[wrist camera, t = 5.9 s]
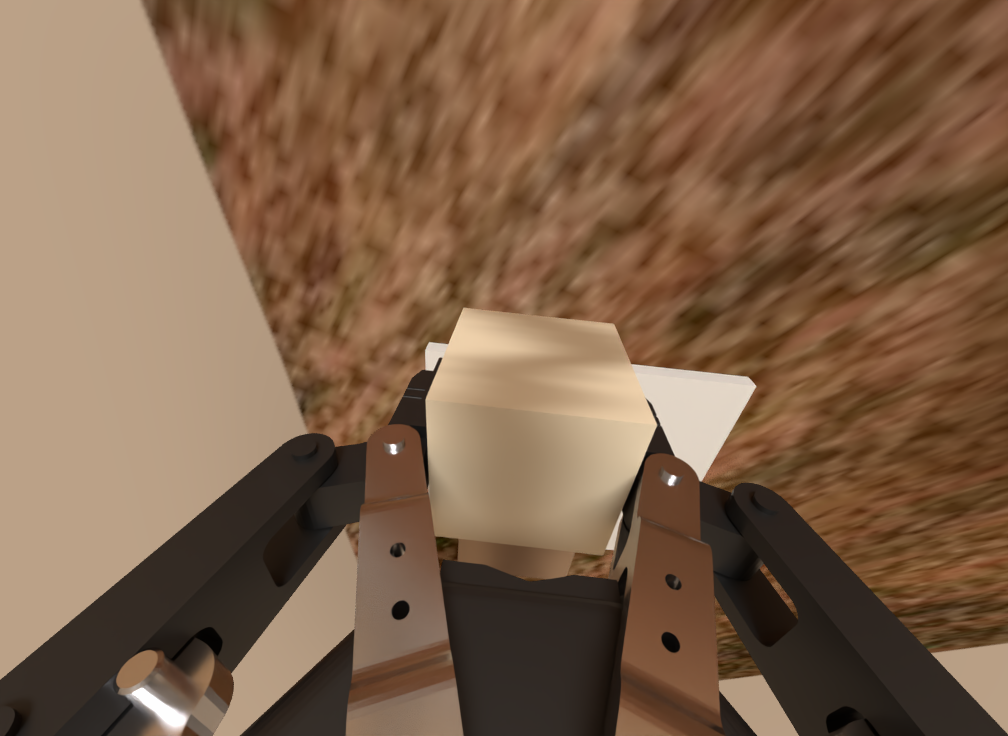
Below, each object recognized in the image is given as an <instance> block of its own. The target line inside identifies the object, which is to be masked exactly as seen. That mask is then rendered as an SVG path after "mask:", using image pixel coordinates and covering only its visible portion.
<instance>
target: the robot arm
mask: <svg viewBox="0 0 1008 736" xmlns="http://www.w3.org/2000/svg"><path fill="white" fill-rule="evenodd" d="M442 359H443V358H441V357H440V358H439V359H438V361H437V363H436V366H435V368H434V370H433V371H430V370H422V371H420V372H419V373H418V374H416V375H415V376H414V377H412V379H411V381H410V383H409V385H408V388H407V389H406V391H405V393H404V395H403V397H402V399H401V401H400V403H399V405H398V407H397V409H396V411H395V413H394V415H393V417H392V419H391V421H390V423H389V424H388V426H384V427H382V428H380V429H378V430H376V431H375V432H374V433H373V434H372V435H371V436H370V437H369V439H368V441H367V442H364V443H361V444H355V445H347V446H339V447H335V445H334V442H333V440H332V439H331V438H330V437H328V436H326V435H323V434H317V433H312V434H305V435H301V436H298V437H295V438H293V439H291V440H289V441H287V442H286V443H284V444H283V445H282V446H281V447H279V448H278V449H277V450H276V451H275V452H274V453H272V454H271V455H270V456H269V457H267V458H266V459H265V460H264V461H263V462H261V463H260V464H259V465H258V466H257V467H255V468H254V469H253V470H252V471H251V472H249V473H248V474H247V475H246V476H245V477H243V478H242V479H241V480H240V481H239V482H237V483H236V484H235V485H234V486H233V487H231V488H230V489H229V490H228V491H227V492H225V494H223V495H222V496H221V497H219V498H218V499H217V500H216V501H215V502H213V503H212V504H211V505H210V506H209V507H207V508H206V509H205V510H204V511H203V512H201V513H200V514H199V515H198V516H197V517H195V518H194V519H193V520H192V521H191V522H190V523H188V524H187V525H186V526H185V527H183V528H182V529H181V530H180V531H179V532H177V533H176V534H175V535H174V536H173V537H171V538H170V539H169V540H168V541H166V542H165V543H164V544H163V545H162V546H161V547H159V548H158V549H157V550H156V551H154V552H153V553H152V554H151V555H150V556H148V557H147V558H146V559H145V560H144V561H142V562H141V563H140V564H139V565H138V566H136V567H135V568H134V569H133V570H132V571H131V572H129V573H128V574H127V575H126V576H124V578H122V579H121V580H120V581H119V582H117V583H116V584H115V585H114V586H112V587H111V588H110V589H109V590H108V591H106V592H105V593H104V594H103V595H102V596H100V597H99V598H98V599H97V600H96V601H94V602H93V603H92V604H91V605H90V606H88V607H87V608H86V609H85V610H84V611H82V612H81V613H80V614H79V615H78V616H76V617H75V618H74V619H73V620H72V621H70V622H69V623H68V624H67V625H66V626H64V627H63V628H62V629H61V630H60V631H58V632H57V633H56V634H55V635H54V636H53V637H51V638H50V639H49V640H48V641H46V642H45V643H44V644H43V645H42V646H40V647H39V648H38V649H37V650H36V651H34V652H33V653H32V654H31V655H30V656H28V657H27V658H26V659H25V660H24V661H23V662H21V663H20V664H19V665H18V666H16V667H15V668H14V669H13V670H12V671H11V672H9V673H8V674H7V675H6V676H4V677H3V678H2V679H1V680H0V736H213V734H214V732H215V731H216V729H217V727H218V726H219V724H220V722H221V721H222V719H223V717H224V716H225V714H226V712H227V710H228V708H229V705H230V702H231V699H232V695H233V689H234V682H233V677H232V674H231V673H232V672H233V670H234V669H235V668H236V667H237V665H238V664H239V663H240V661H241V660H242V659H243V658H244V656H245V655H246V654H247V652H248V651H249V650H250V649H251V647H252V646H253V645H254V643H255V642H256V641H257V639H258V638H259V637H260V636H261V634H262V633H263V632H264V631H265V629H266V628H267V627H268V625H269V624H270V623H271V621H272V620H273V619H274V617H275V616H276V615H277V614H278V613H279V611H280V610H281V609H282V607H283V606H284V605H285V603H286V602H287V601H288V600H289V598H290V597H291V596H292V594H293V593H294V592H295V591H296V589H297V588H298V587H299V585H300V584H301V583H302V582H303V580H304V579H305V578H306V576H307V575H308V574H309V572H310V571H311V570H312V569H313V567H314V566H315V565H316V563H317V562H318V561H319V560H320V558H321V557H322V556H323V554H324V553H325V552H326V551H327V549H328V548H329V547H330V545H331V544H332V543H333V542H334V540H335V539H336V538H337V536H338V535H339V534H340V532H341V531H342V530H343V529H344V527H345V526H346V525H347V524H350V523H355V522H360V524H359V545H358V566H357V589H356V609H355V610H356V611H355V629H354V630H353V631H352V632H351V633H349V635H347V636H346V637H345V638H344V639H343V640H342V641H341V642H340V643H339V644H338V645H337V646H336V647H334V648H333V649H332V650H331V651H330V652H329V653H328V654H327V655H326V656H325V657H324V658H323V659H322V660H321V661H319V662H318V663H317V664H316V665H315V666H314V667H313V668H312V669H311V670H310V671H309V672H308V673H307V674H306V675H304V676H303V677H302V678H301V679H300V680H299V681H298V682H297V683H296V684H295V685H294V686H293V687H292V688H291V689H289V690H288V691H287V692H286V693H285V694H284V695H283V696H282V697H281V698H280V699H279V700H278V701H277V702H275V704H274V705H272V706H271V707H270V708H269V709H268V710H267V711H266V712H265V713H264V714H263V715H262V716H261V717H259V718H258V719H257V720H256V721H255V722H254V723H253V724H252V725H251V726H250V727H249V728H248V729H247V730H246V731H244V732H243V733H242V734H241V735H240V736H757V735H756V734H755V733H754V732H753V730H752V729H751V728H750V727H749V726H748V724H747V723H746V722H745V721H744V720H743V719H742V717H741V716H740V715H739V714H738V713H737V711H736V710H735V709H734V708H733V707H732V705H731V704H730V703H729V702H728V701H727V700H726V698H725V697H724V696H723V695H722V694H721V692H720V691H719V684H718V683H719V682H718V661H717V641H716V621H715V601H714V596H715V597H716V599H717V601H718V602H719V604H720V606H721V607H722V609H723V611H724V612H725V614H726V616H727V617H728V619H729V621H730V622H731V624H732V626H733V627H734V629H735V631H736V632H737V634H738V635H739V637H740V639H741V640H742V642H743V644H744V645H745V647H746V649H747V650H748V652H749V654H750V655H751V657H752V659H753V660H754V662H755V664H756V665H757V667H758V669H759V670H760V672H761V673H762V675H763V677H764V678H765V680H766V682H767V683H768V685H769V687H770V688H771V690H772V692H773V693H774V695H775V697H776V698H777V700H778V701H779V703H780V705H781V707H782V708H783V710H784V711H785V713H786V715H787V716H788V718H789V720H790V721H791V723H792V725H793V726H794V728H795V730H796V731H797V733H798V735H799V736H1008V734H1007V733H1006V732H1005V731H1004V730H1003V729H1002V728H1001V727H1000V726H999V725H998V724H997V722H995V720H994V719H993V718H992V717H991V716H990V715H989V714H988V713H987V712H986V711H985V710H984V709H983V708H982V707H981V706H980V705H979V704H978V702H977V701H976V700H974V698H973V697H972V696H971V695H970V694H969V693H968V692H967V691H966V690H965V689H964V688H963V687H962V686H961V685H960V684H959V682H957V680H956V679H955V678H954V677H953V676H952V675H951V674H950V673H949V672H948V671H947V670H946V669H945V668H944V667H943V666H942V665H941V664H940V663H939V661H938V660H937V659H936V658H935V657H934V656H933V655H932V654H931V653H930V652H929V651H928V650H927V649H926V648H925V647H924V646H923V645H922V644H921V643H920V641H919V640H918V639H917V638H916V637H915V636H914V635H913V634H912V633H911V632H910V631H909V630H908V629H907V628H906V627H905V626H904V625H903V624H902V623H901V622H900V620H899V619H898V618H897V617H896V616H895V615H894V614H893V613H892V612H891V611H890V610H889V609H888V608H887V607H886V606H885V605H884V604H883V603H882V602H881V600H880V599H879V598H878V597H877V596H876V595H875V594H874V593H873V592H872V591H871V590H870V589H869V588H868V587H867V586H866V585H865V584H864V583H863V582H862V580H861V579H860V578H859V577H858V576H857V575H856V574H855V573H854V572H853V571H852V570H851V569H850V568H849V567H848V566H847V565H846V564H845V563H844V562H843V561H842V559H841V558H840V557H839V556H838V555H837V554H836V553H835V552H834V551H833V550H832V549H831V548H830V547H829V546H828V545H827V544H826V543H825V542H824V541H823V539H822V538H821V537H820V536H819V535H818V534H817V533H816V532H815V531H814V530H813V529H812V528H811V527H810V526H809V525H808V524H807V523H806V522H805V521H804V519H803V518H802V517H801V516H800V515H799V514H798V513H797V512H796V511H795V510H794V509H793V508H792V507H791V506H790V505H789V504H788V503H787V502H786V501H785V500H784V499H783V498H782V497H781V496H779V495H778V494H776V493H775V492H773V491H772V490H770V489H768V488H766V487H763V486H761V485H758V484H754V483H741V484H739V485H737V486H736V487H735V488H734V490H733V492H732V493H731V492H728V491H725V490H722V489H720V488H717V487H714V486H711V485H708V484H706V483H703V482H701V481H699V478H698V475H697V474H696V472H695V471H694V469H693V468H692V467H691V466H690V465H688V464H687V463H686V462H684V461H683V460H681V459H679V458H677V457H675V455H674V453H673V451H672V448H671V446H670V444H669V442H668V439H667V437H666V435H665V433H664V430H663V428H662V426H660V421H659V419H658V417H656V416H657V414H656V412H655V410H654V408H653V405H652V404H651V403H650V402H649V401H648V400H647V399H646V400H647V402H648V405H649V407H650V409H651V412H652V414H653V416H654V419H655V421H656V423H657V427H656V429H655V432H654V434H653V436H652V439H651V441H650V444H649V446H648V448H647V451H646V453H645V456H644V458H643V460H642V463H641V465H640V468H639V470H638V473H637V475H636V477H635V480H634V482H633V485H632V487H631V489H630V492H629V494H628V497H627V499H626V501H625V504H624V506H623V509H622V513H623V515H622V518H621V520H620V523H619V527H618V532H617V537H616V542H615V547H614V552H613V557H612V562H611V567H610V572H609V577H608V579H604V578H595V577H587V576H578V575H571V576H565V577H559V578H552V579H546V580H540V581H533V582H530V581H526V580H523V579H520V578H518V577H515V576H513V575H510V574H508V573H505V572H503V571H500V570H498V569H495V568H493V567H490V566H488V565H484V564H475V563H467V562H458V561H450V560H443V562H442V566H441V571H440V570H439V563H438V555H437V548H436V541H435V533H434V526H433V519H432V511H431V504H430V497H429V493H428V492H427V488H428V485H429V469H428V446H427V423H426V397H427V395H428V392H429V390H430V387H431V385H432V383H433V380H434V378H435V375H436V373H437V371H438V368H439V366H440V363H441V361H442ZM763 564H765V566H766V567H767V568H768V570H769V571H770V572H771V574H772V575H773V576H774V577H775V579H776V580H777V581H778V583H779V584H780V585H781V587H782V588H783V589H784V591H785V592H786V593H787V594H788V596H789V597H790V598H791V600H792V601H793V603H794V605H795V607H796V609H797V613H798V620H797V618H796V617H795V616H794V614H793V613H792V612H791V610H790V609H789V608H788V606H787V605H786V604H785V602H784V601H783V600H782V598H781V597H780V596H779V594H778V593H777V592H776V590H775V589H774V588H773V586H772V585H771V584H770V582H769V581H768V579H767V578H766V577H765V575H764V574H763V573H762V571H761V570H760V567H761V566H762V565H763Z"/></svg>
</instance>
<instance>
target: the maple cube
mask: <svg viewBox="0 0 1008 736" xmlns="http://www.w3.org/2000/svg"><path fill="white" fill-rule="evenodd" d="M426 423H427V446H428V469H429V493H430V504H431V511H432V519H433V526H434V533H435V536H440V537H448V538H457V539H466V540H474V541H483V542H491V543H500V544H509V545H517V546H526V547H535V548H543V549H552V550H560V551H569V552H578V553H586V554H595V555H603V554H604V552H605V550H606V547H607V545H608V542H609V540H610V538H611V535H612V533H613V530H614V528H615V526H616V523H617V521H618V518H619V516H620V513H621V511H622V509H623V506H624V504H625V501H626V499H627V497H628V494H629V492H630V489H631V487H632V485H633V482H634V480H635V477H636V475H637V473H638V470H639V468H640V465H641V463H642V460H643V458H644V456H645V453H646V451H647V448H648V446H649V444H650V441H651V439H652V436H653V434H654V432H655V429H656V427H657V423H656V421H655V419H654V416H653V414H652V412H651V409H650V407H649V405H648V402H647V400H646V398H645V395H644V393H643V391H642V388H641V386H640V384H639V381H638V379H637V377H636V374H635V372H634V370H633V367H632V365H631V363H630V360H629V358H628V356H627V353H626V351H625V349H624V346H623V344H622V342H621V339H620V337H619V335H618V332H617V330H616V328H615V325H614V324H610V323H601V322H591V321H582V320H573V319H563V318H554V317H544V316H535V315H526V314H516V313H507V312H497V311H488V310H479V309H469V308H463V311H462V313H461V315H460V318H459V320H458V323H457V325H456V327H455V330H454V332H453V335H452V337H451V339H450V342H449V344H448V347H447V349H446V351H445V354H444V356H443V359H442V361H441V363H440V366H439V368H438V371H437V373H436V375H435V378H434V380H433V383H432V385H431V387H430V390H429V392H428V395H427V397H426Z"/></svg>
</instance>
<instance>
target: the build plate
mask: <svg viewBox="0 0 1008 736" xmlns="http://www.w3.org/2000/svg"><path fill="white" fill-rule="evenodd" d="M447 347H448V344H440V343H431V342H429V344H428V346H427V348H426V350H425V358H426V370H430V371H433V370H434V368H435V366H436V363H437V361H438V359H439V358H440V357H441V358H443V356H444V354H445V351H446V349H447ZM631 365H632V367H633V370H634V372H635V374H636V377H637V379H638V381H639V384H640V386H641V388H642V391H643V393H644V395H645V398H646V399H647V400H648V401H649V402H650V403H651V404H652V405H653V408H654V410H655V412H656V414H657V416H656V417H658V419H659V421H660V426H662V428H663V430H664V433H665V435H666V437H667V439H668V442H669V444H670V446H671V448H672V451H673V453H674V455H675V457H677V458H679V459H681V460H683V461H684V462H686V463H687V464H688V465H690V466H691V467H692V468H693V469H694V471H695V472H696V474H697V475H698V478H699V481H702V480H703V478H704V476H705V474H706V473H707V471H708V469H709V468H710V466H711V464H712V462H713V461H714V459H715V457H716V455H717V454H718V452H719V450H720V449H721V447H722V445H723V443H724V442H725V440H726V438H727V436H728V435H729V433H730V431H731V429H732V428H733V426H734V424H735V423H736V421H737V419H738V417H739V416H740V414H741V412H742V410H743V409H744V407H745V405H746V403H747V402H748V400H749V398H750V397H751V395H752V393H753V391H754V390H755V388H756V385H755V384H754V383H753V382H752V381H751V380H750V379H749V378H748V377H743V376H734V375H725V374H716V373H707V372H698V371H688V370H679V369H670V368H661V367H652V366H642V365H633V364H631ZM428 491H429V485H428ZM429 497H430V493H429ZM622 515H623V513H622V511H621V513H620V516H619V518H618V521H617V523H616V526H615V528H614V530H613V533H612V535H611V538H610V540H609V542H608V545H607V547H606V549H607V550H614V547H615V542H616V537H617V532H618V527H619V523H620V520H621V518H622Z"/></svg>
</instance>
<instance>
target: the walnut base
mask: <svg viewBox="0 0 1008 736" xmlns="http://www.w3.org/2000/svg"><path fill="white" fill-rule="evenodd" d="M574 554H575V552H569V551H560V550H552V549H543V548H535V547H526V546H517V545H509V544H500V543H491V542H483V541H474V540H466V539H459V544H458V562H467V563H475V564H484V565H488V566H490V567H493V568H495V569H498V570H500V571H503V572H505V573H508V574H510V575H513V576H522V577H531V578H541V579H552V578H559V577H565V576H567V574H568V571H569V568H570V565H571V562H572V559H573V557H574Z"/></svg>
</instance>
